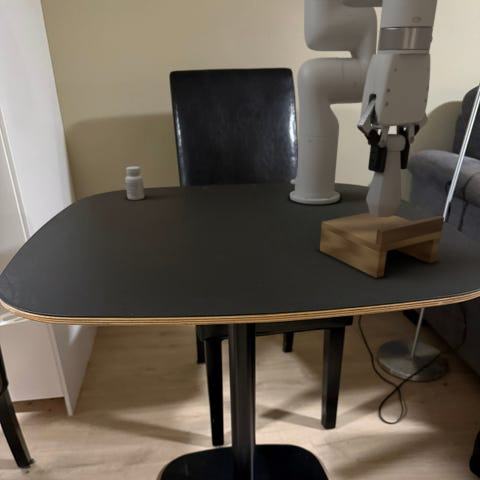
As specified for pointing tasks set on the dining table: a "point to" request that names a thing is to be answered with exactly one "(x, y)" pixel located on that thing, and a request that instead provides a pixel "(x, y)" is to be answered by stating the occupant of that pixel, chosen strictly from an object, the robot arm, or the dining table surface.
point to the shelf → (379, 240)
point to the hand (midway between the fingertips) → (387, 168)
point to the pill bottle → (134, 183)
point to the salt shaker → (387, 181)
